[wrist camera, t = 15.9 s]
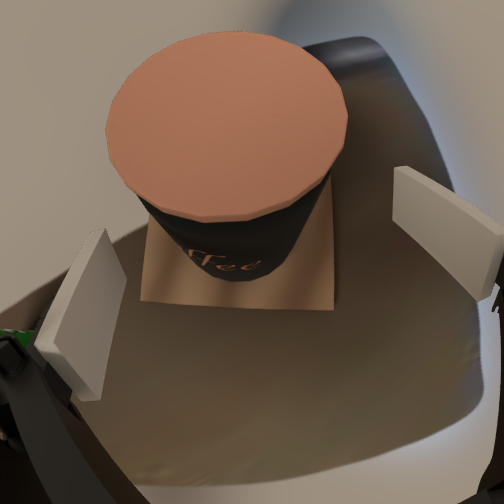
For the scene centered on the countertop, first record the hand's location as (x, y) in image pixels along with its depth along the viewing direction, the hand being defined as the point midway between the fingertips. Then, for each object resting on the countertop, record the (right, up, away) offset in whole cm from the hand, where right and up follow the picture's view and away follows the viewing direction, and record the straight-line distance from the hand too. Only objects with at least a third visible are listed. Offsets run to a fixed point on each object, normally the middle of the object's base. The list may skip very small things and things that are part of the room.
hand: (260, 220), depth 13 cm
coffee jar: (-1, +1, +17) cm, 17 cm away
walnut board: (-2, +1, +18) cm, 18 cm away
